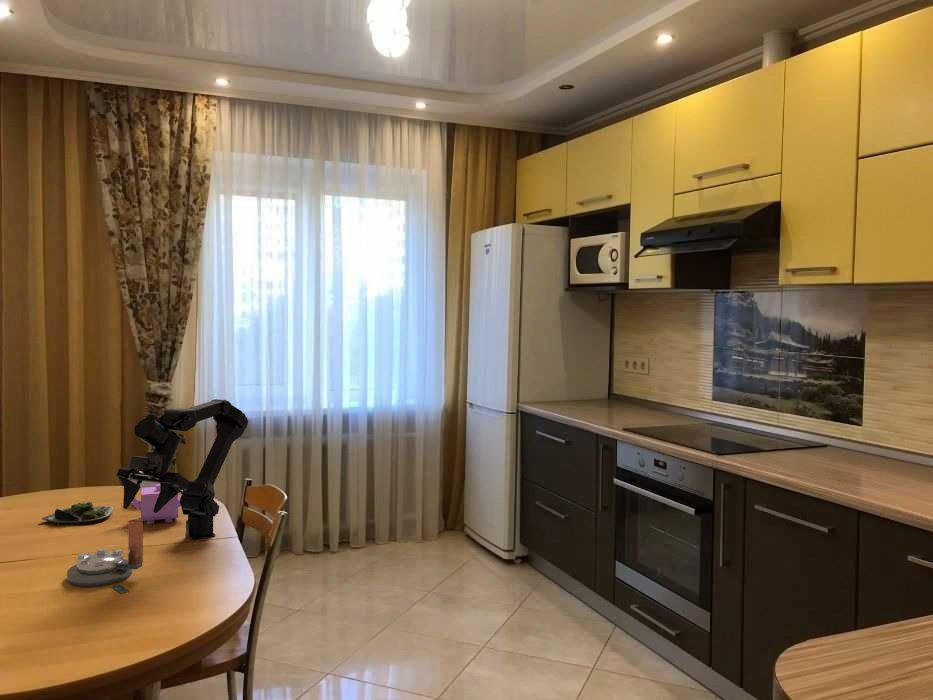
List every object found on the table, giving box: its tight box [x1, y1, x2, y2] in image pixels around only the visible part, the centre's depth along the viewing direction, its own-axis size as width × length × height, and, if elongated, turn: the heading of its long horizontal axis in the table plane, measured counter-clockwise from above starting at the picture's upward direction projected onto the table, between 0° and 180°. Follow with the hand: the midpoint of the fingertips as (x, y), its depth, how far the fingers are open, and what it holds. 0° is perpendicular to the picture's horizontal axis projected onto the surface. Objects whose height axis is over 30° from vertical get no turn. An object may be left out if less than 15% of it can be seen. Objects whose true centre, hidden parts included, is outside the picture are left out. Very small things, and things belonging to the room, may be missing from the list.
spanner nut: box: [76, 518, 144, 574], centre depth 171 cm, size 16×10×12 cm, turn 84°
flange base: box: [66, 558, 133, 594], centre depth 169 cm, size 14×21×2 cm, turn 39°
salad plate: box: [41, 501, 114, 526], centre depth 218 cm, size 19×18×5 cm
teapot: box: [132, 484, 181, 525], centre depth 217 cm, size 15×13×11 cm
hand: (139, 510), depth 180 cm, fingers open, 9 cm apart
